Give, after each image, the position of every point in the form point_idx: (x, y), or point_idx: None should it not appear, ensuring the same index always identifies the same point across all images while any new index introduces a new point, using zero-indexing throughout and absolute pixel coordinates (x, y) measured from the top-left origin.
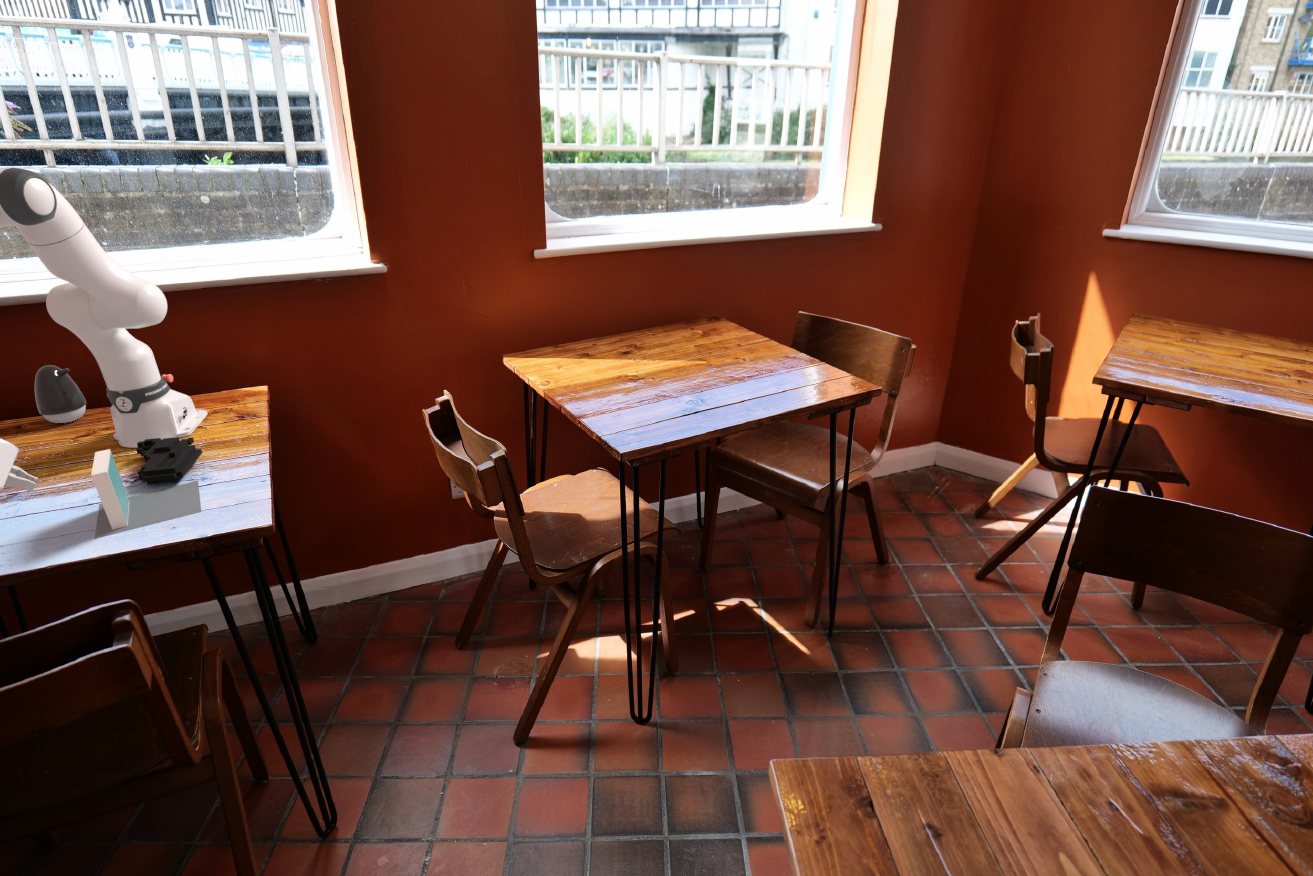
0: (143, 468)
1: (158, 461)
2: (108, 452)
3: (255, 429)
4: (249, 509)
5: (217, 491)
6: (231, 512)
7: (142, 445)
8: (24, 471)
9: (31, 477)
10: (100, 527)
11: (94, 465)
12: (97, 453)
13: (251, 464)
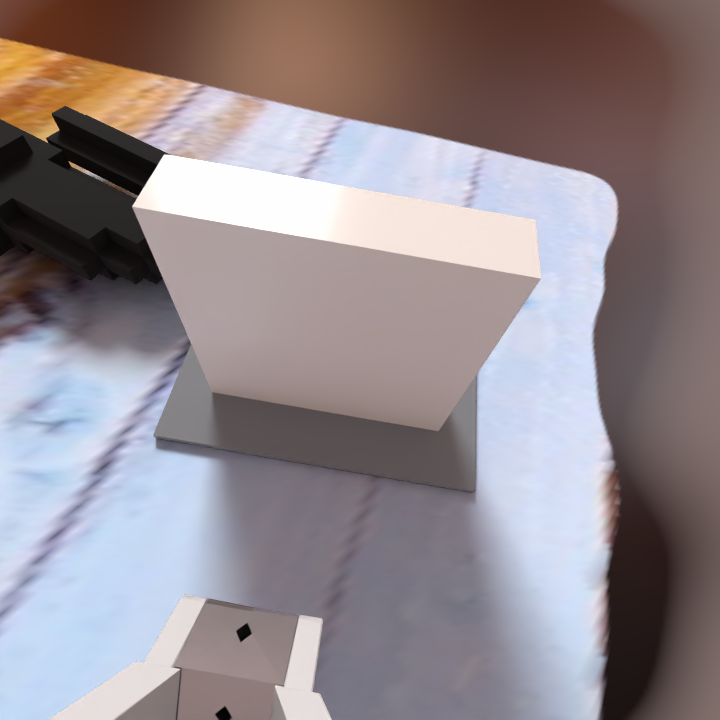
0: (98, 239)
1: (94, 193)
2: (219, 167)
3: (13, 47)
4: (521, 175)
5: (359, 188)
6: (513, 199)
7: None
8: (97, 698)
9: (208, 640)
10: (391, 461)
11: (382, 243)
12: (175, 202)
13: (251, 109)
